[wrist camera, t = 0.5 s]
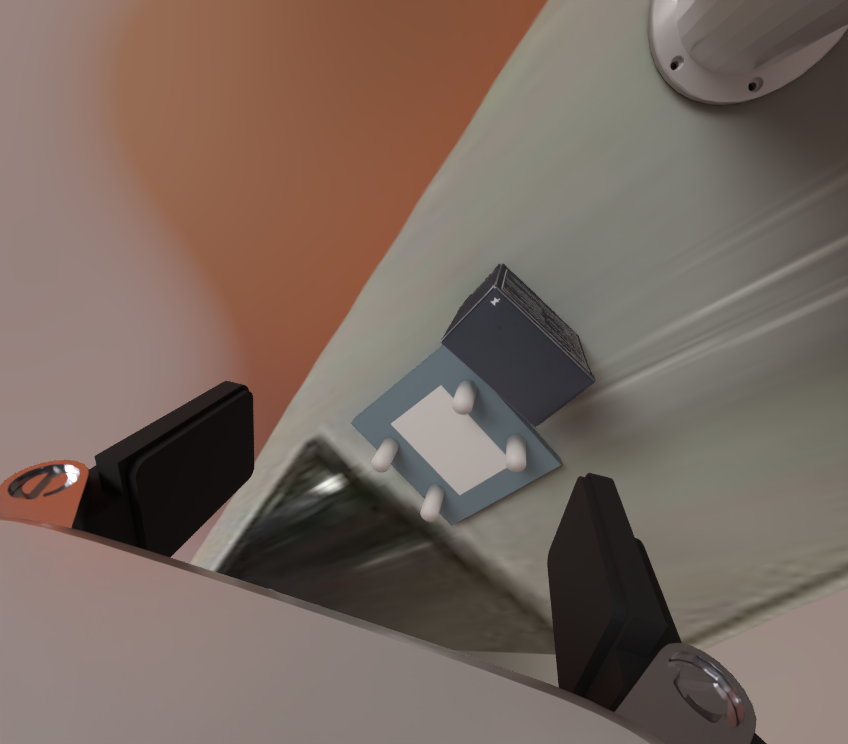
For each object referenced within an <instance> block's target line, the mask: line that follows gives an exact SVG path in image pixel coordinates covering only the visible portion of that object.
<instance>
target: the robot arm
mask: <svg viewBox="0 0 848 744" xmlns="http://www.w3.org/2000/svg"><path fill="white" fill-rule="evenodd" d="M847 29H848V0H651V1H650V6H649V16H648V36H649V44H650V50H651V53H652V56H653V59H654V62H655V65H656V67H657V68H658V70H659V72H660V73H661V75H662V76H663V78H664V80H665V81H666V82H667V83H668V84H669V85H670V86H671V87H672V88H673V89H674V90H676V91H677V92H678V93H680V94H682V95H684V96H685V97H687V98H689V99H691V100H694V101H698V102H701V103H705V104H716V105H728V104H735V103H742V102H746V101H749V100H752V99H755V98H758V97H761V96H764V95H766V94H768V93H770V92H772V91H775V90H777V89H779V88H781V87H783V86H785V85H786V84H788V83H790V82H791V81H793V80H795V79H796V78H798V77H800V76H801V75H802V74H804V73H805V72H806V71H807V70H809V69H810V68H811V67H812V66H814V65H815V64H816V63H817V62H819V61H820V60H821V59H822V58H823V57H824V56H825V55H826V54H827V53H828V52H829V51H830V50H831V49H832V48H833V46H834V45H835V44H836V43H837V42H838V41H839V40H840V39H841V37H842V36H843V35H844V33H845V32H846V31H847ZM672 63H675V64H676V66H677V67H676V69H675V70H672V69H671V67H670V66H671V64H672ZM749 84H751V85H753V89H752V90H751V91H749V89H748V85H749ZM253 426H254V425H253V395H252V393H251V392H249V389H248V387H247V386H245V385H242V384H238V383H234V382H230V381H225V382H223V383H221V384H219V385H217V386H216V387H214V388H212V389H210V390H209V391H207V392H205V393H203V394H202V395H200V396H198V397H196V398H195V399H193V400H191V401H189V402H188V403H186V404H184V405H183V406H181V407H179V408H177V409H176V410H174V411H172V412H171V413H169V414H167V415H165V416H163V417H162V418H160V419H158V420H156V421H155V422H153V423H151V424H150V425H148V426H146V427H145V428H143V429H141V430H139V431H137V432H136V433H134V434H132V435H130V436H129V437H127V438H125V439H123V440H122V441H120V442H118V443H117V444H115V445H113V446H111V447H110V448H108V449H106V450H104V451H103V452H101V453H99V454H97V455H96V456H95V460H96V466H94V467H93V468H91V469H88V467H87V466H86V465H85V464H83V463H80V462H78V461H73V460H55V461H49V462H44V463H40V464H37V465H34V466H30V467H27V468H25V469H23V470H21V471H19V472H17V473H15V474H13V475H12V476H10V477H9V478H7V479H6V480H4V482H3V483H2V484H1V485H0V744H766V743H765V742H764V741H763V740H762V739H761V738H760V737H759V736H758V735H757V734H756V733H755V728H756V716H755V712H754V709H753V705H752V703H751V701H750V700H749V698H748V696H747V694H746V692H745V690H744V689H743V688H742V687H741V685H740V684H739V683H738V681H737V680H736V679H735V678H734V676H733V675H732V674H731V673H730V672H729V671H728V670H727V669H726V668H725V667H723V666H722V665H721V664H720V663H719V662H718V661H717V660H715V659H714V658H712V657H711V656H709V655H708V654H706V653H705V652H703V651H701V650H699V649H697V648H695V647H693V646H690V645H686V644H682V642H681V640H680V637H679V635H678V632H677V629H676V627H675V624H674V622H673V619H672V617H671V614H670V612H669V609H668V606H667V604H666V601H665V599H664V596H663V594H662V591H661V588H660V586H659V583H658V581H657V578H656V576H655V573H654V570H653V568H652V565H651V563H650V560H649V558H648V555H647V552H646V550H645V547H644V545H643V544H642V542H641V541H640V540H639V539H636V538H635V537H634V535H633V532H632V529H631V527H630V524H629V521H628V519H627V516H626V513H625V510H624V508H623V505H622V502H621V500H620V497H619V494H618V492H617V489H616V486H615V483H614V481H613V479H611V478H608V477H604V476H600V475H596V474H592V473H588V474H587V475H586V477H581V476H580V477H578V479H577V481H576V484H575V486H574V489H573V491H572V494H571V496H570V499H569V502H568V504H567V507H566V509H565V512H564V514H563V517H562V519H561V522H560V525H559V527H558V530H557V532H556V535H555V537H554V540H553V542H552V545H551V548H550V550H549V554H548V562H547V564H548V576H549V587H550V598H551V608H552V619H553V630H554V641H555V651H556V662H557V672H558V683H559V688H558V687H556V686H553V685H551V684H548V683H545V682H543V681H540V680H537V679H534V678H531V677H529V676H526V675H523V674H520V673H517V672H514V671H511V670H509V669H506V668H503V667H500V666H497V665H494V664H492V663H489V662H486V661H483V660H480V659H477V658H475V657H472V656H469V655H465V654H463V653H460V652H457V651H454V650H451V649H448V648H445V647H442V646H439V645H436V644H433V643H430V642H427V641H424V640H421V639H418V638H415V637H412V636H409V635H406V634H403V633H400V632H397V631H394V630H391V629H388V628H385V627H382V626H379V625H376V624H373V623H370V622H367V621H364V620H361V619H358V618H355V617H352V616H349V615H346V614H342V613H339V612H336V611H333V610H330V609H327V608H324V607H321V606H318V605H315V604H312V603H309V602H306V601H303V600H300V599H297V598H294V597H291V596H288V595H284V594H281V593H278V592H275V591H272V590H269V589H266V588H263V587H260V586H257V585H254V584H251V583H248V582H245V581H241V580H238V579H235V578H232V577H229V576H226V575H223V574H220V573H217V572H213V571H210V570H207V569H204V568H201V567H198V566H195V565H192V564H188V563H185V562H182V561H179V560H176V559H173V558H170V557H171V556H172V555H173V554H174V553H175V552H176V551H177V550H178V549H179V548H180V547H181V546H182V545H183V544H184V543H185V542H186V541H187V540H188V539H189V538H190V537H191V536H192V535H193V534H194V533H195V532H196V531H197V530H198V529H199V528H200V527H201V526H202V525H203V524H204V523H205V522H206V521H207V520H208V519H209V518H210V517H211V516H212V515H213V514H214V513H215V512H216V511H217V510H218V509H219V508H220V507H221V506H222V505H223V504H224V503H225V502H226V501H227V500H228V499H229V498H230V497H231V496H232V495H233V494H234V493H235V492H236V491H237V490H238V489H239V488H240V487H241V486H242V485H243V484H244V483H246V482H247V481H248V479H249V478H250V477H251V475H252V473H253V470H254V427H253Z"/></svg>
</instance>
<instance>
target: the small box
mask: <svg viewBox="0 0 848 744" xmlns="http://www.w3.org/2000/svg"><path fill="white" fill-rule="evenodd" d="M441 343H442V344H443V345H444V346H445V347H446V348H447V349H448V350H449V351H450V352H452V353H453V354H454V355H455V356H456V357H457V358H458V359H460V360H461V361H462V362H463V363H464V364H465V365H466V366H467V367H468V368H470V369H471V370H472V371H473V372H474V373H475V374H476V375H477V376H479V377H480V378H481V379H482V380H483V381H484V382H485V383H486V384H487V385H489V386H490V387H491V388H492V389H493V390H494V391H495V392H496V393H497V394H498V395H500V396H501V397H502V398H503V399H504V400H505V401H506V402H507V403H508V404H509V405H511V406H512V407H513V408H514V409H515V410H516V411H517V412H518V413H519V414H520V415H521V416H523V417H524V418H525V419H526V420H527V421H528V422H529V423H530V424H531V425H532V426H534V427H535V426H537V425H539V424H540V423H542V422H543V421H545V420H546V419H547V418H549V417H550V416H551V415H552V414H554V413H555V412H556V411H558V410H559V409H561V408H562V407H563V406H564V405H566V404H567V403H568V402H570V401H571V400H572V399H574V398H575V397H576V396H577V395H579V394H580V393H581V392H583V391H584V390H585V389H586V388H588V387H589V386H590V385H592V384H593V383H594V382H595V378H594V376H593V375H592V372H591V371H590V368H589V366H588V363H587V360H586V358H585V355H584V352H583V349H582V346H581V343H580V340H579V336H578V335H577V334H576V333H575V332H574V331H573V330H572V329H571V328H570V327H569V326H568V325H567V324H566V323H565V322H564V321H563V320H562V319H560V318H559V317H558V316H557V315H556V314H555V312H553V311H552V310H551V309H550V308H549V307H548V306H547V305H546V304H545V303H544V302H543V301H542V300H541V299H540V298H539V297H538V296H537V295H536V294H535V293H534V292H533V291H532V290H531V289H530V288H528V287H527V286H526V285H525V284H524V283H523V282H522V281H521V280H520V279H519V278H518V277H517V276H516V275H515V274H514V273H512V272H511V271H510V270H509V269H508V268H507V267H506V266H505V265H504V264H498V266H497V267H496V268H495V270H494V271H493V273H492V274H490V275H489V277H488V278H486V280H485V281H484V282H483V283H482V284H481V285H480V286H479V287H478V288H477V289H476V290H475V292H474V293H473V294H471V295H470V296H469V297H468V298H467V299H466V301H465V302H464V304H463V305H462V306H461V307H460V309H459V310H458V312H457V314H456V316H455V318H454V319H453V321H452V323H451V325H450V326H449V328H448V329H447V331H446V333H445V335H444V337H443V338H442V339H441Z"/></svg>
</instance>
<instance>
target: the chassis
mask: <svg viewBox="0 0 848 744" xmlns="http://www.w3.org/2000/svg"><path fill="white" fill-rule="evenodd" d="M351 424H352V425H353V426H354V427H355V428H356V429H357V430H358V431H359V432H360V433H361V434H362V435H363V436H364V437H365V438H366V439H367V440H368V441H369V442H370V443H371V444H372V445H373V446H374V447H375V448H376V449H377V452H376V454H375V456H374V457H373V459H372V461H371V465H372V467H373V469H374V470H376V471H377V472H386V471H387V470H388V468H389V466H390V464H391V465H392V466H393V467H394V468H395V469H396V470H397V471H398V472H399V473H400V474H401V475H402V476H403V477H404V478H405V479H406V480H407V481H408V482H409V483H410V484H411V485H412V486H413V487H414V488H415V489H416V490H417V491H418V492H419V493H420V494H421V495H422V496H423V497H424V498H425V500H424V503H423V506H422V509H421V516H422V518H423V519H424V520H426V521H429V522H433V521H436V520H437V518H438V515H439V513H440V514H441V515H442V516H443V517H444V518H445V519H446V520H447V521H448V522H449V524H450V525H451V526H452V525H454V524H456V523H458V522H459V521H461V520H463V519H465V518H467V517H469V516H470V515H472V514H474V513H476V512H478V511H479V510H481V509H483V508H485V507H487V506H488V505H490V504H492V503H494V502H496V501H497V500H499V499H501V498H503V497H505V496H506V495H508V494H510V493H512V492H514V491H515V490H517V489H519V488H521V487H523V486H524V485H526V484H528V483H530V482H532V481H534V480H535V479H537V478H539V477H541V476H543V475H544V474H546V473H548V472H550V471H552V470H553V469H555V468H557V467H559V466H561V460H560V458H559V457H558V456H557V454H556V453H555V452H554V451H553V450H552V449H551V448H550V447H549V446H548V444H547V443H546V442H545V441H544V440H543V439H542V438H541V437H540V435H539V434H538V433H537V432H536V431H535V430H534V429H533V428H532V427H531V425H530V424H529V423H528V422H527V421H526V420H525V419H524V418H523V417H522V416H521V415H520V414H519V413H518V412H517V411H516V410H515V409H514V408H513V407H512V406H511V405H509V404H508V403H507V402H506V401H505V400H504V399H503V398H502V397H501V396H500V395H498V394H497V393H496V392H495V391H494V390H493V389H492V388H491V387H490V386H489V385H487V384H486V383H485V382H484V381H483V380H482V379H481V378H480V377H479V376H477V375H476V374H475V373H474V372H473V371H472V370H471V369H470V368H468V367H467V366H466V365H465V364H464V363H463V362H462V361H461V360H460V359H458V358H457V357H456V356H455V355H454V354H453V353H452V352H450V351H449V350H448V349H447V348H446V347H445V346H444V345H443V346H441V347H440V348H439V349H438V350H436V351H435V352H434V353H433V354H432V355H430V356H429V357H428V358H427V359H426V360H424V361H423V362H422V363H421V364H420V365H418V366H417V367H416V368H415V369H414V370H412V371H411V372H410V373H409V374H407V375H406V376H405V377H404V378H403V379H401V380H400V381H399V382H398V383H397V384H395V385H394V386H393V387H392V388H391V389H389V390H388V391H387V392H386V393H385V394H383V395H382V396H381V397H380V398H378V399H377V400H376V401H375V402H374V403H372V404H371V405H370V406H369V407H368V408H366V409H365V410H364V411H363V412H362V413H360V414H359V415H358V416H357V417H356V418H354V420H353V421H352V422H351Z"/></svg>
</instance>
